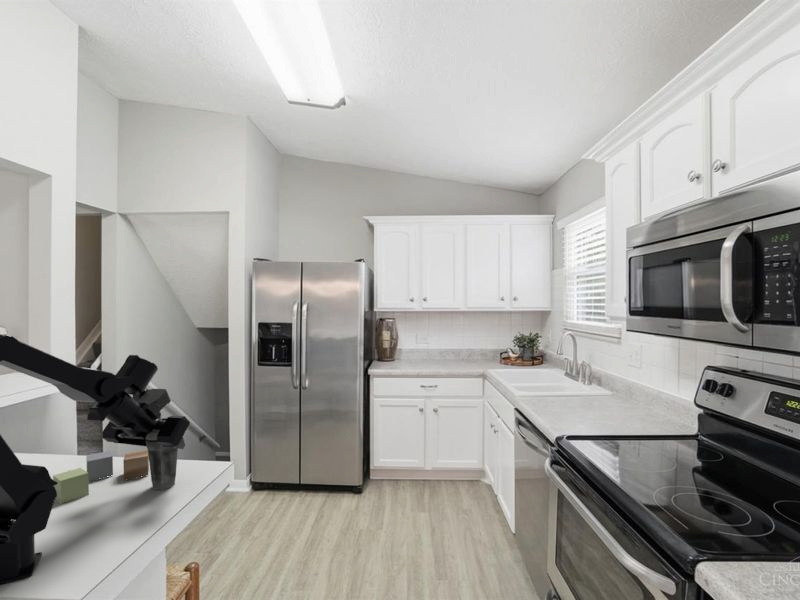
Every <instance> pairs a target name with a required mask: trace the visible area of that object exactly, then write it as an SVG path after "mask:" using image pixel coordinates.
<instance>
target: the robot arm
mask: <svg viewBox="0 0 800 600" xmlns="http://www.w3.org/2000/svg"><path fill="white" fill-rule="evenodd" d="M0 366H2V367H5V368H7V369H11V370H13V371H16V372H18V373H21V374H24V375H27V376H30V377H31V378H35V379H37V380H40V381H42V382H45V383H48V384H51V385H52V386H54V387H55V388H56V389H57V390H58V391H59V392H60V394H62V395H64V396H66V397H68V398H69V399H70V400H72V401H74V402H83V403H84V402H85V403H87V402H88V403H95V404H94V405H93V406H91V407H89V408H88V413H87V418H86V420H87V421H89V422H101V423H102V422H104V421H105V420H108V423H107V425H106V426H105V428H104V429H103V431H102V432H101V433H102V434H101V435H102V436H101V437H102V439H103V440H104V441H106V442H109V443H114V444H121V445H131V446H139V447H146V448H147V446H146V441H145V438H146V436H147V434H150V433H151V432H154V433H158V435H157V442H158V443H159V444H161V445H162V446H163V447H170V448H176V449H178V450H184V449H185V446H186V443H185V440H184V435H185V433H186V431H187V429H188V428H189V426H190V424H191V422H190V420H189V418H187V416H183V415H170V416H168V417H166V418H167V419H166V421H165V422H163V421H156V420H159V417H160V416H161V417H162V413H160V412H159V411H162V410H163V409H164V408H165V407H166V406H167V405H169V404H170V403H171V402H172V399H171V398H170V395H169V393H168V390H167V389H166V388H151V389H150V388H149V389H146V388H147V386H148V385H149V384H150V382H151V380H152V379H153V377H154V376H155V375H156V373H157V372H158V370H159V367H158V366H157V365H156V363H155V362H152V361H149V360H147V359H146V358H142V357H140V356H139V355H138V354H129V355H128V356H127V357H126V359H125V361H124V363H123V364H122V366H121V367H120V368H119V370H118V371H117V372H116V374H114V373H112V372H109V371H105V370H100V369H95V368H88V367H83V366H79V365H78V366H77V365H76V364H75V365H74V364H73V363H71V362H68V361H66V360H63V359H62V358H59V357H56V356H55V355H52V354H50V353H48V352H45V351H43V350H40V349H39V348H36V347H34V346H33V345H29V344H27V343H25V342H22V341H21V340H18V339H17V338H16V337H14V336H13V335H10V334H0ZM145 389H146V390H145ZM57 484H58V482H56V481H54V480H53V478H52V477H51V476H50V472H49V470H48V469H47V467H45V466H42V465H34V464H32V465H31V464H22V462H21V461H20V460H19V457H17V455H16V454H15V452H14V451H13V449H11V447H10V446H9V444H8V443H7V442H6V440H5V439H4V438H3V436H2V435H1V434H0V585H1V584H6V583H9V582H14V581H18V580H21V579H25V578H28V577H31V576H33V575H34V572H35V570H36V568H37V567H38V564H39V562H40V561H41V558H42V557H43V552H41V551H40V552H39V551H38V552H35V551H36V549H35V545H36V544H35V543H36V542H35V535H36V534H38V533H39V532H42V531H44V530H45V529H47V526H48V522H49V519H50V516H51V514H52V513H51V512H52V509H53V506H54V503H55V501H56V499H55V498H56V497H57V491H56V488H55V487H54V485H57Z"/></svg>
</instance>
